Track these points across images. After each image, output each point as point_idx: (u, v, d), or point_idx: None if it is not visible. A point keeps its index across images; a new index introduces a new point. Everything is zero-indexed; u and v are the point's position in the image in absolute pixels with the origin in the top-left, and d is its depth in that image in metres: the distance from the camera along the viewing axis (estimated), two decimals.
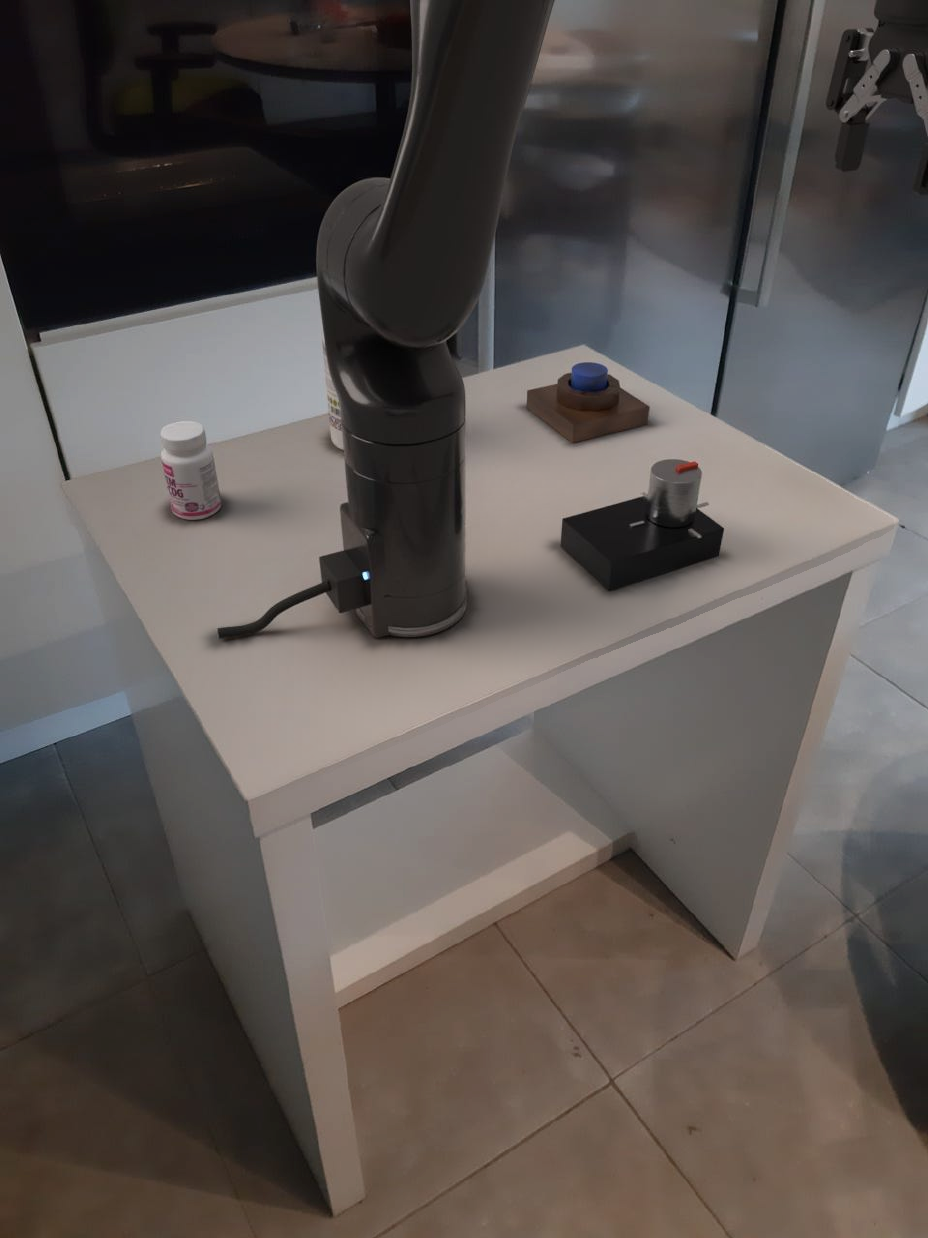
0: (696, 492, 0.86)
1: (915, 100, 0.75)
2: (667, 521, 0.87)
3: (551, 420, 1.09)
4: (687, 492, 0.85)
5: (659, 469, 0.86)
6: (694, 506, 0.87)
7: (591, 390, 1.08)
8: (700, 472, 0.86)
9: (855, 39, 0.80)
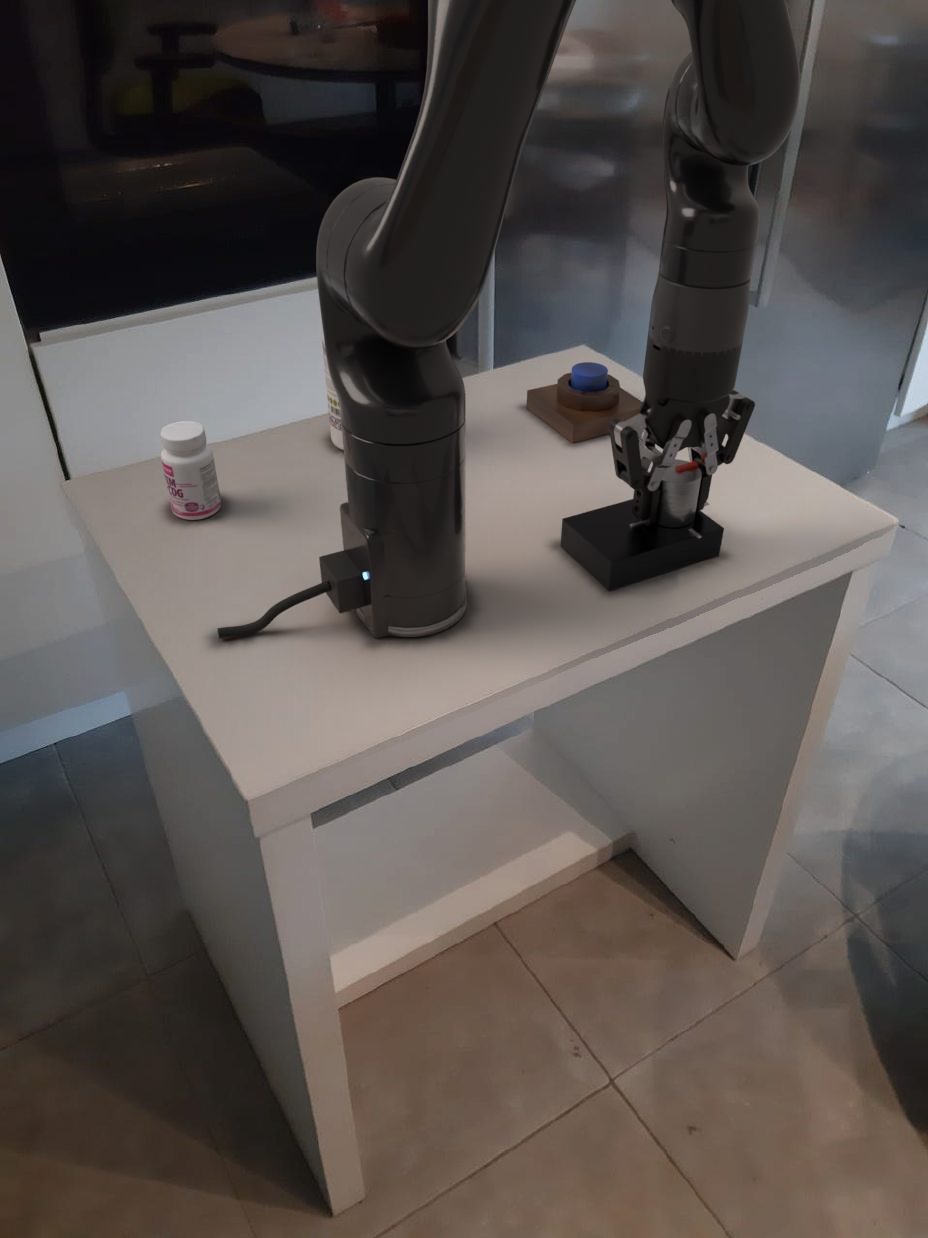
0: (696, 492, 0.86)
1: (651, 439, 0.85)
2: (667, 521, 0.87)
3: (551, 420, 1.09)
4: (687, 492, 0.85)
5: None
6: (694, 506, 0.87)
7: (591, 390, 1.08)
8: (700, 472, 0.86)
9: None
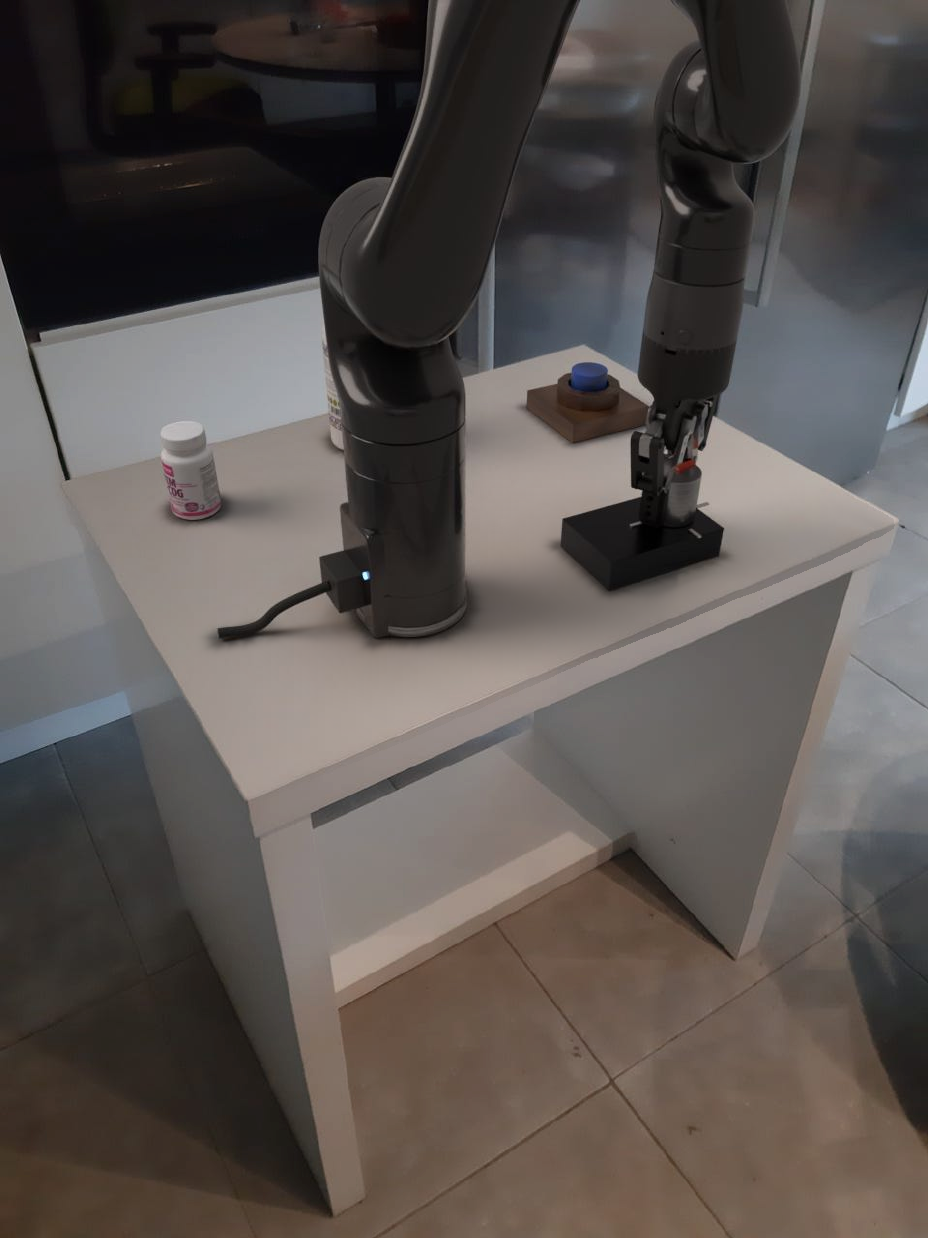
0: (698, 490, 0.86)
1: None
2: (672, 521, 0.87)
3: (551, 420, 1.09)
4: (691, 491, 0.85)
5: None
6: (696, 504, 0.87)
7: (591, 390, 1.08)
8: (699, 470, 0.86)
9: None
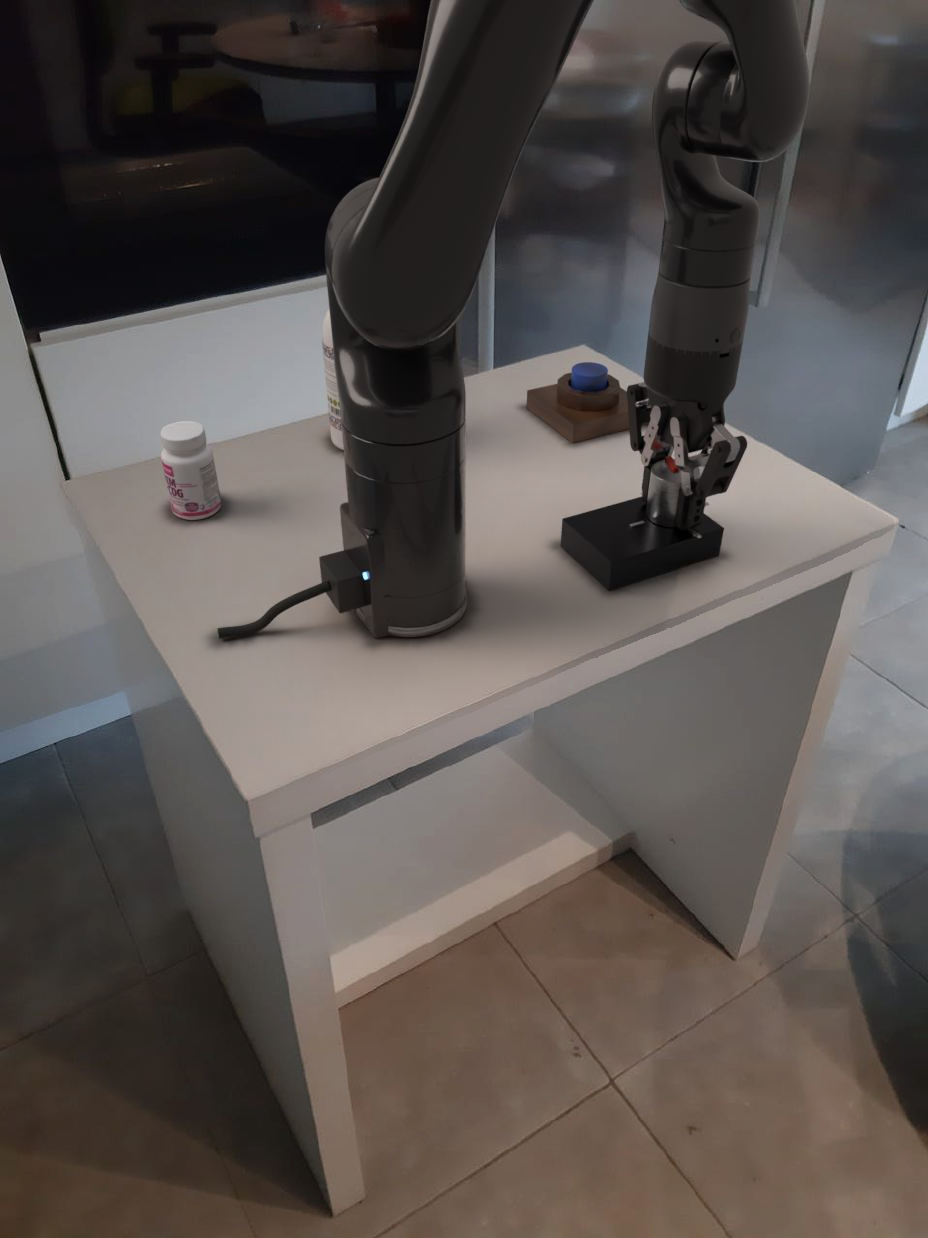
0: None
1: (675, 455, 0.83)
2: None
3: (551, 420, 1.09)
4: None
5: (672, 478, 0.85)
6: None
7: (591, 390, 1.08)
8: None
9: (638, 392, 0.86)
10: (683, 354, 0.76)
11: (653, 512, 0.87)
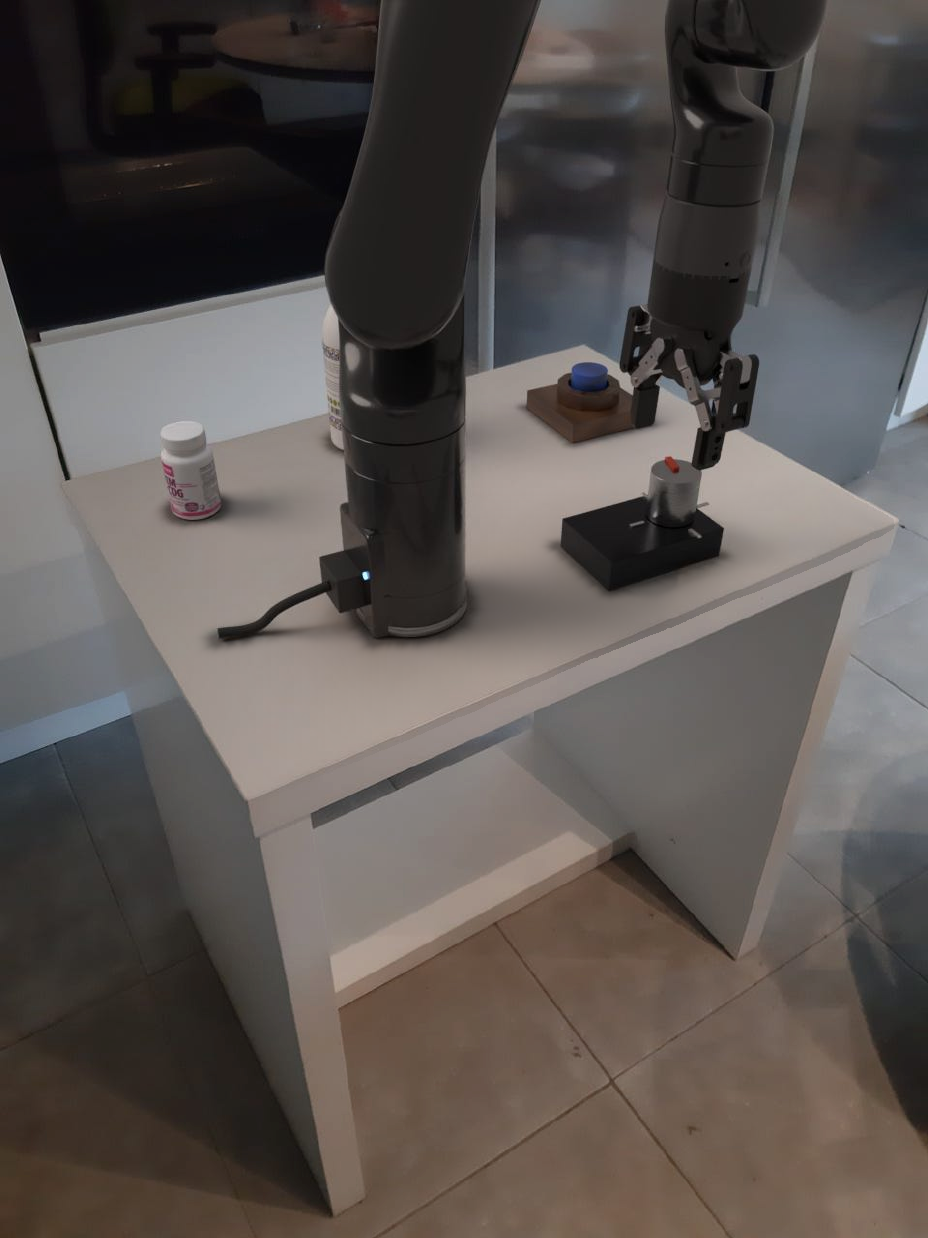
0: None
1: (687, 390, 0.79)
2: (693, 516, 0.88)
3: (551, 420, 1.09)
4: None
5: (672, 478, 0.85)
6: None
7: (591, 390, 1.08)
8: (682, 460, 0.88)
9: (639, 316, 0.83)
10: (691, 279, 0.73)
11: (653, 512, 0.87)
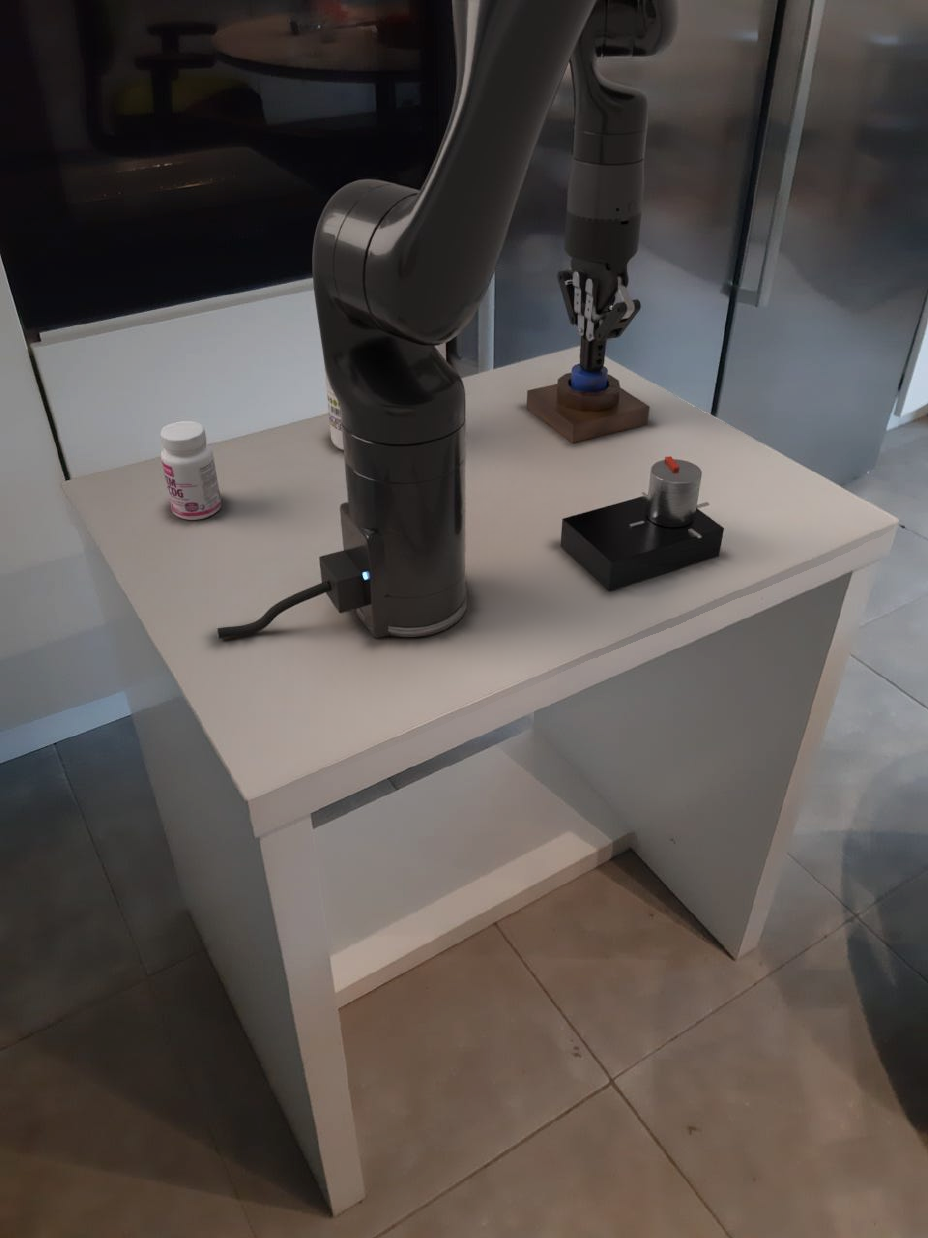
0: None
1: (586, 307, 1.03)
2: (693, 516, 0.88)
3: (551, 420, 1.09)
4: None
5: (672, 478, 0.85)
6: None
7: (591, 390, 1.08)
8: (682, 460, 0.88)
9: (565, 274, 1.06)
10: (591, 221, 0.96)
11: (653, 512, 0.87)
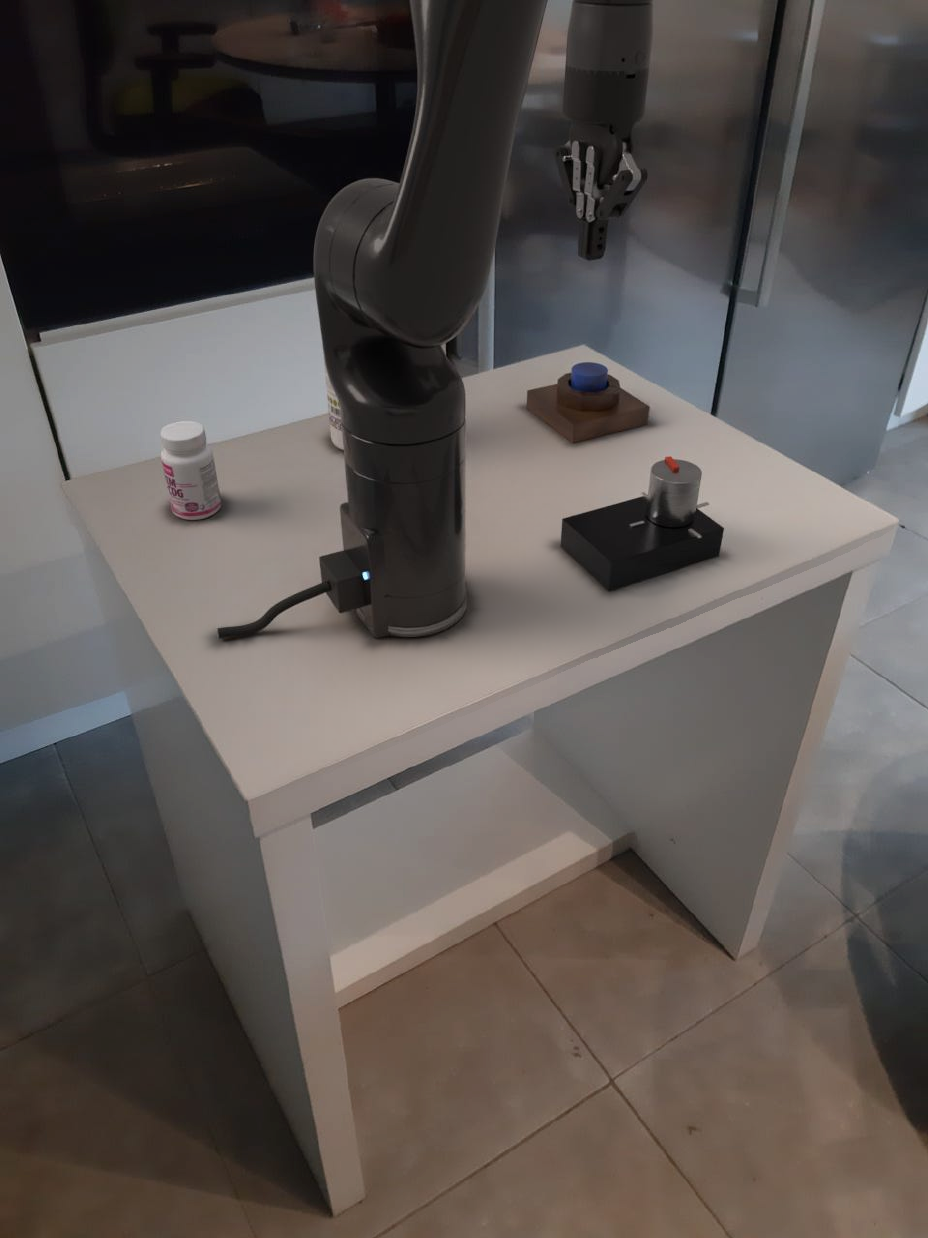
0: None
1: (586, 181, 0.93)
2: (693, 516, 0.88)
3: (551, 420, 1.09)
4: None
5: (672, 478, 0.85)
6: None
7: (591, 390, 1.08)
8: (682, 460, 0.88)
9: (563, 149, 0.96)
10: (594, 74, 0.86)
11: (653, 512, 0.87)
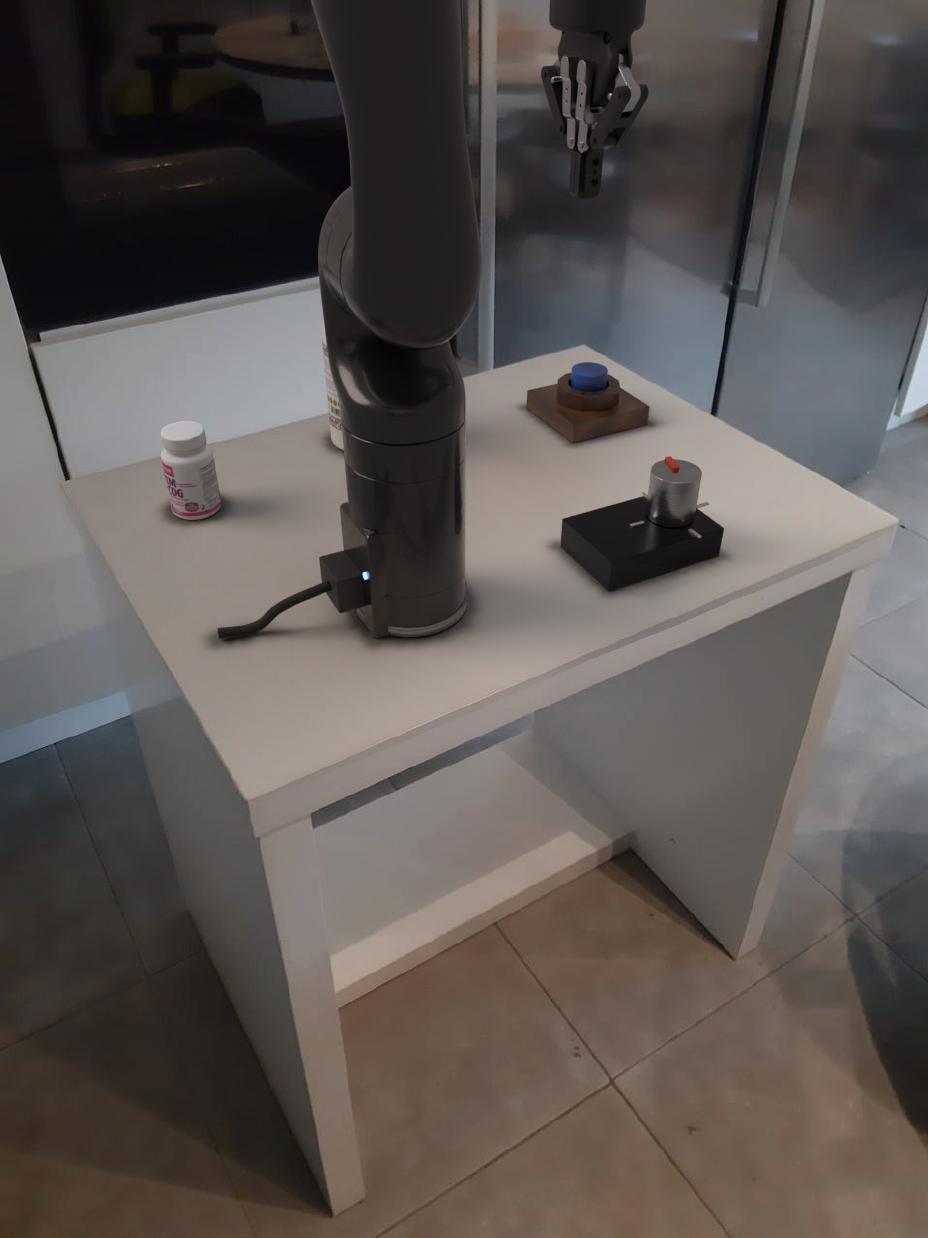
0: None
1: (577, 104, 0.80)
2: (693, 516, 0.88)
3: (551, 420, 1.09)
4: None
5: (672, 478, 0.85)
6: None
7: (591, 390, 1.08)
8: (682, 460, 0.88)
9: (551, 69, 0.83)
10: None
11: (653, 512, 0.87)
